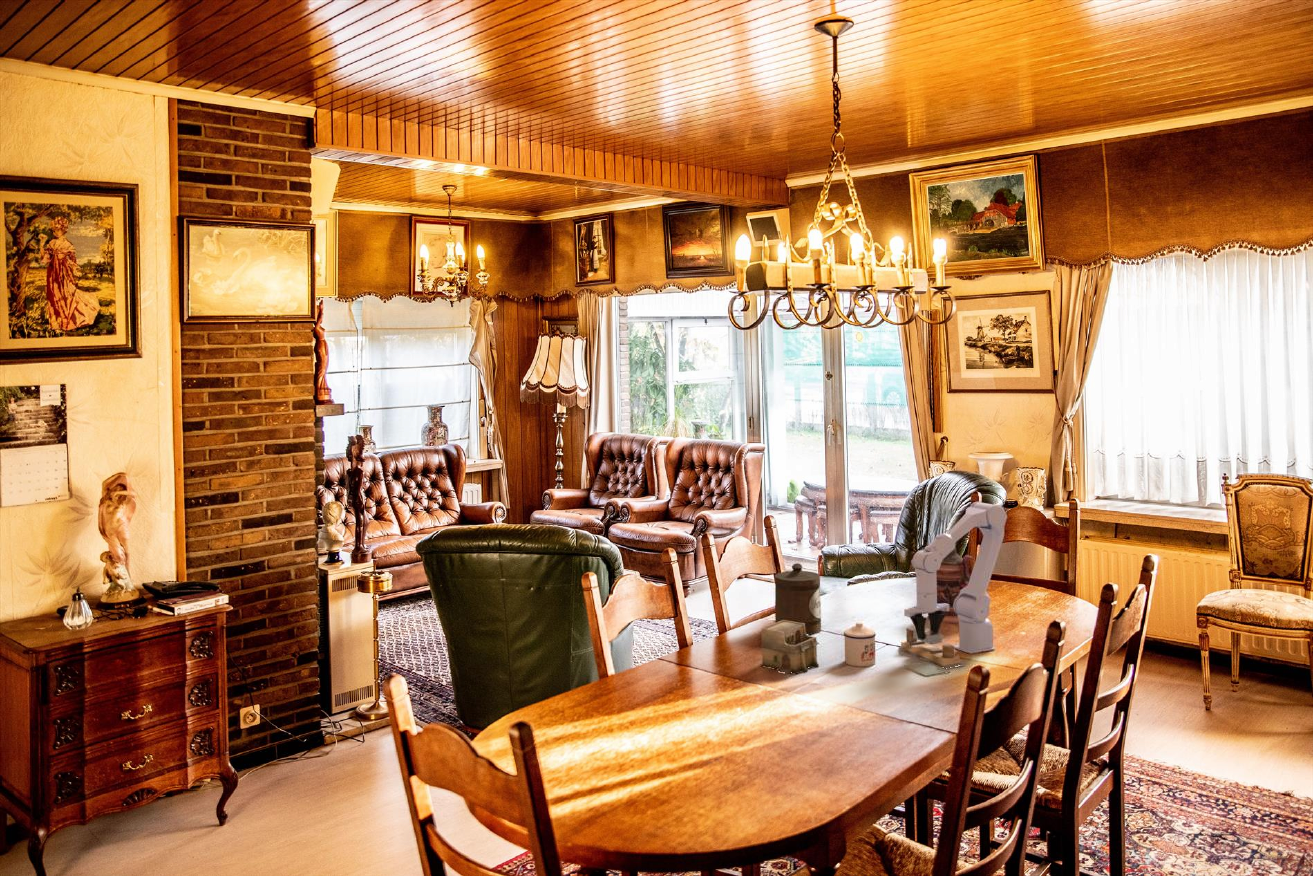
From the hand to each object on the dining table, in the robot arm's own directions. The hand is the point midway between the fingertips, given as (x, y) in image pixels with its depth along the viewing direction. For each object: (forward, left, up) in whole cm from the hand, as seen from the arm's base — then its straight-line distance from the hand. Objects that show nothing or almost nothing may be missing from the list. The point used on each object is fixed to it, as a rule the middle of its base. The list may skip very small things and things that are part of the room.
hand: (927, 637), depth 289 cm
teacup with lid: (+19, -5, -6) cm, 21 cm away
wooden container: (+18, -44, -6) cm, 48 cm away
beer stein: (-33, -31, -6) cm, 46 cm away
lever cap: (0, 0, -1) cm, 1 cm away
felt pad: (+8, +10, -6) cm, 14 cm away
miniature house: (+40, -11, -6) cm, 42 cm away
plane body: (0, +1, -6) cm, 6 cm away
